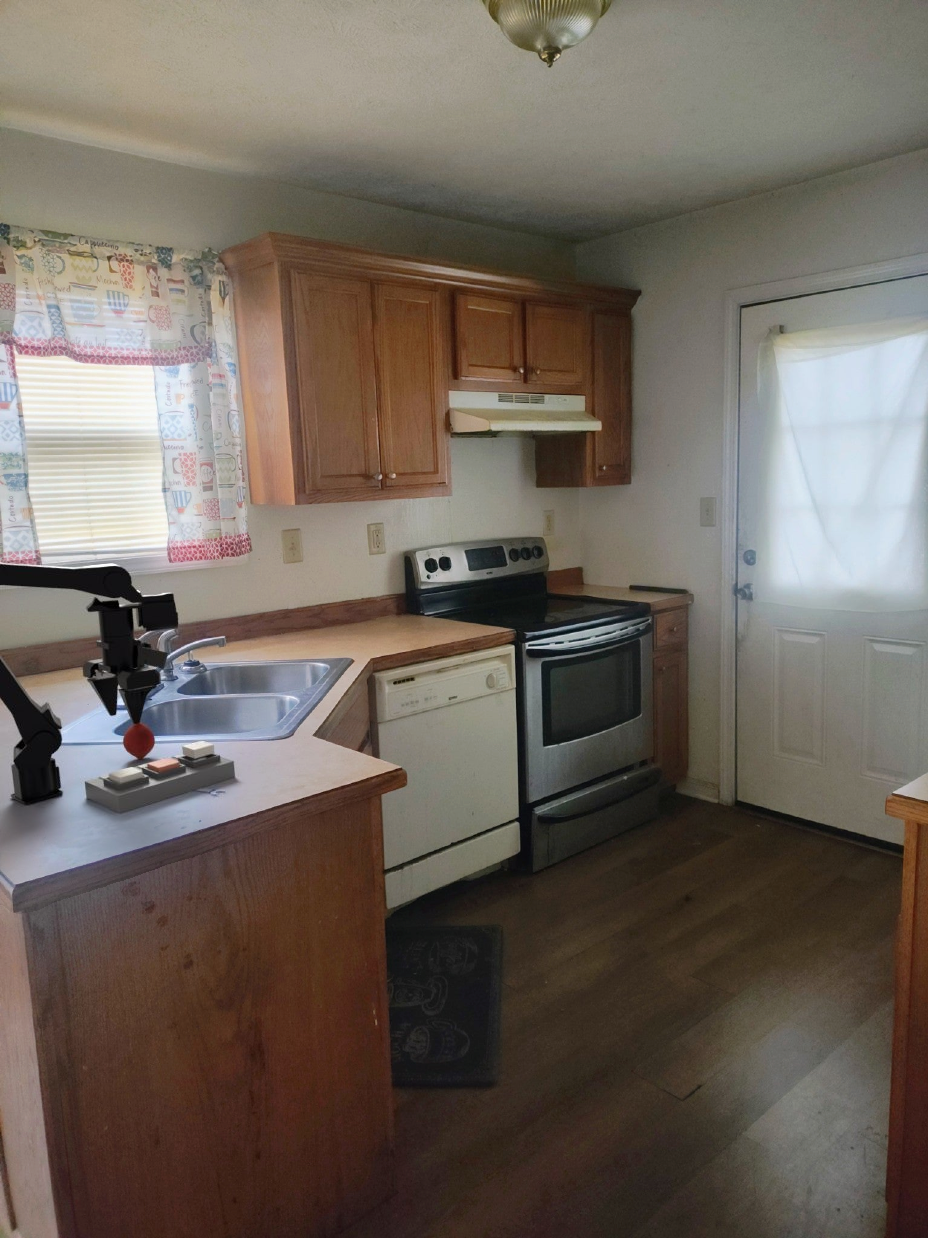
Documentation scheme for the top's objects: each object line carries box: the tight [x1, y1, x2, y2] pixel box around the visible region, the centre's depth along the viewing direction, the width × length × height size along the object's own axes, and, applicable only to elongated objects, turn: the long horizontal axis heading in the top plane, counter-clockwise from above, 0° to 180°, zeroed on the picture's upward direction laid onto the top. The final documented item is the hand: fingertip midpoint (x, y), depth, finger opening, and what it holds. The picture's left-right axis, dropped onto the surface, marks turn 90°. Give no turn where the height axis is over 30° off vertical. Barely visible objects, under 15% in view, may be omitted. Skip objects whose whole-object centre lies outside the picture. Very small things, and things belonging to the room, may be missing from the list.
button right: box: [181, 740, 215, 758], centre depth 157 cm, size 4×4×2 cm
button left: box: [108, 766, 143, 784], centre depth 147 cm, size 4×4×2 cm
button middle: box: [146, 757, 180, 773], centre depth 152 cm, size 4×4×2 cm
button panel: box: [84, 752, 236, 814], centre depth 153 cm, size 22×12×4 cm, turn 138°
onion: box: [122, 721, 156, 760], centre depth 169 cm, size 6×6×8 cm
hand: (124, 719), depth 156 cm, fingers open, 9 cm apart
